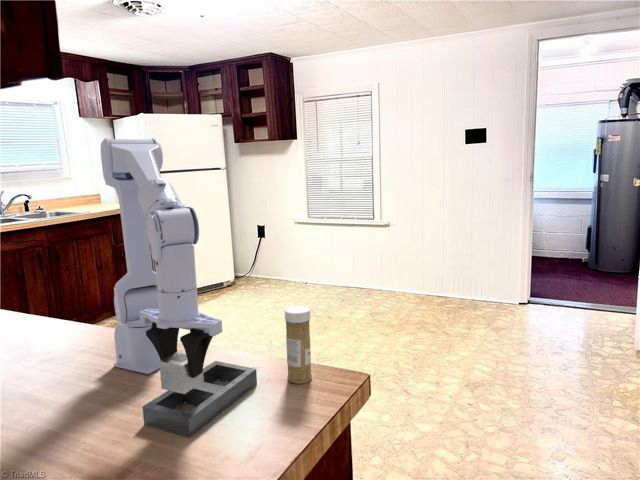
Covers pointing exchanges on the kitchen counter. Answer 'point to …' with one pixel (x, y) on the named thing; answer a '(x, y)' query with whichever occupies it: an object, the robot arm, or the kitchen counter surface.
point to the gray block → (177, 373)
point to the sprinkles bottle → (298, 344)
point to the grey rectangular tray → (200, 400)
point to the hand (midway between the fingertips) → (183, 372)
